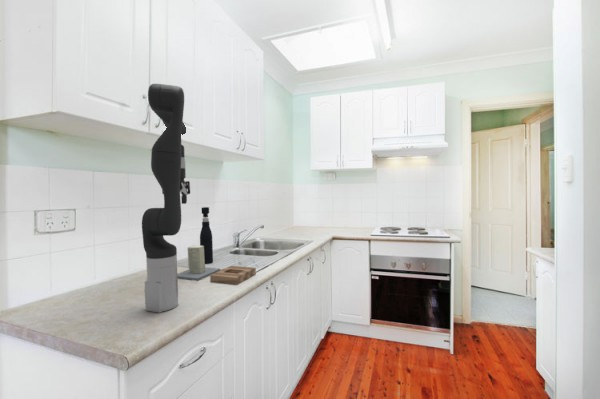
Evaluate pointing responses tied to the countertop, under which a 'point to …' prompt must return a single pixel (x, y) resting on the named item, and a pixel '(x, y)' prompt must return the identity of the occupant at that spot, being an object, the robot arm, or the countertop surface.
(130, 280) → the countertop surface
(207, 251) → the wine bottle
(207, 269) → the mat
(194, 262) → the skincare box
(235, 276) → the holder
